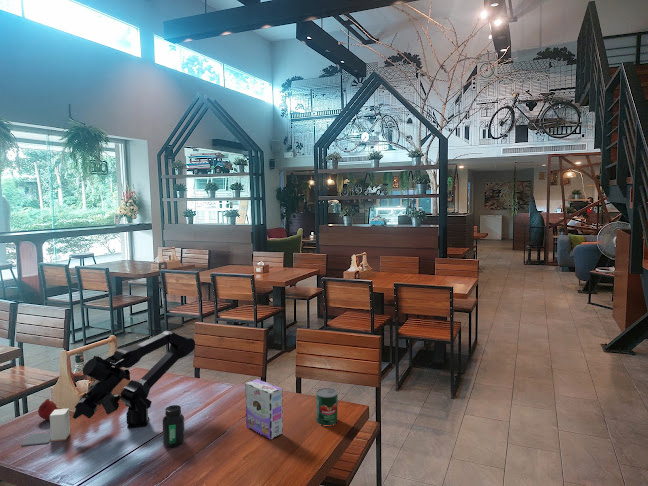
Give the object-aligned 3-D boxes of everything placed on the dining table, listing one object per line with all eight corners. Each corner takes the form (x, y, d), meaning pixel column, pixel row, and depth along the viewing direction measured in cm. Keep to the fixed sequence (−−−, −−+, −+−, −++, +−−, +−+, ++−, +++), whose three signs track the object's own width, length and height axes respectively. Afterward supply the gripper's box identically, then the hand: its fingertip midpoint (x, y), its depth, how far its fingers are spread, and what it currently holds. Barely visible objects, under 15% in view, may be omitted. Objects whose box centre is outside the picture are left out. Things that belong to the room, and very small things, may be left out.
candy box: (283, 434, 157) (283, 388, 156) (270, 440, 153) (270, 393, 151) (258, 421, 166) (257, 377, 165) (245, 427, 162) (244, 382, 161)
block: (70, 433, 157) (68, 408, 156) (65, 440, 153) (64, 414, 152) (55, 434, 156) (54, 409, 156) (50, 441, 152) (49, 415, 151)
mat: (55, 433, 157) (55, 432, 157) (48, 443, 151) (48, 442, 151) (30, 435, 156) (30, 434, 156) (21, 446, 149) (21, 444, 149)
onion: (48, 424, 164) (47, 402, 163) (34, 422, 165) (33, 401, 164) (60, 416, 169) (59, 396, 169) (47, 415, 171) (46, 394, 170)
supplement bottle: (175, 450, 147) (174, 414, 146) (158, 446, 149) (157, 410, 148) (189, 439, 153) (188, 405, 152) (172, 436, 155) (171, 402, 154)
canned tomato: (325, 428, 161) (325, 398, 160) (311, 421, 167) (311, 391, 166) (342, 421, 166) (342, 392, 165) (327, 414, 172) (327, 386, 171)
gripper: (120, 409, 148) (85, 445, 147) (131, 387, 167) (100, 419, 165) (92, 388, 146) (56, 425, 144) (107, 368, 164) (75, 400, 163)
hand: (74, 417), depth 154 cm, fingers closed
